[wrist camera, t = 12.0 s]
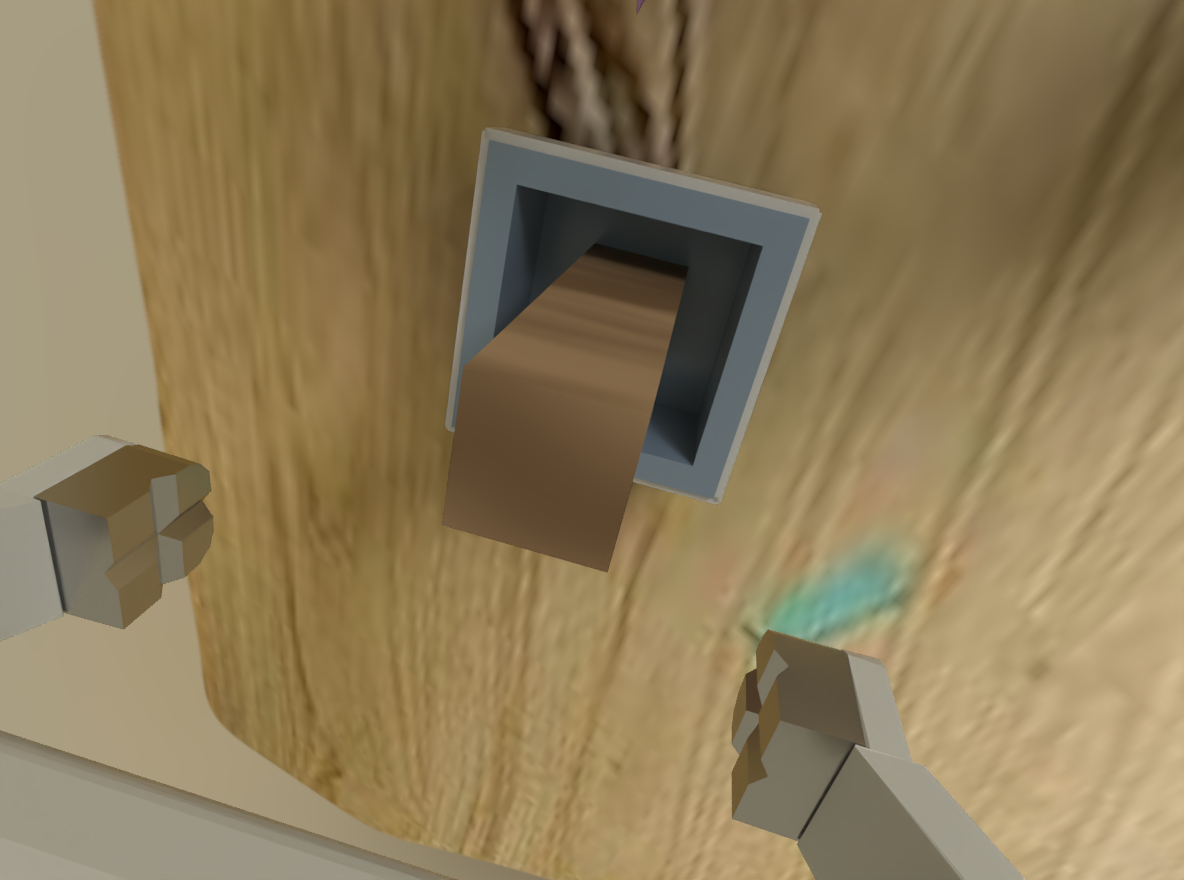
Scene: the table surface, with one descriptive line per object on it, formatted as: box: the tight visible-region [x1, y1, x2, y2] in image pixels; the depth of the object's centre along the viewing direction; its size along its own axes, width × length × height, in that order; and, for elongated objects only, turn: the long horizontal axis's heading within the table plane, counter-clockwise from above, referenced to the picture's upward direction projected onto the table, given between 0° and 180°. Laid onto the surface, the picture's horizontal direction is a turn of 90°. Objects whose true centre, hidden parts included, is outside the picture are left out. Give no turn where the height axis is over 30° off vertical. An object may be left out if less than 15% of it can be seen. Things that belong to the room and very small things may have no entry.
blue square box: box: [445, 127, 822, 505], centre depth 24 cm, size 10×10×6 cm
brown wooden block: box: [442, 243, 689, 572], centre depth 19 cm, size 4×4×14 cm
